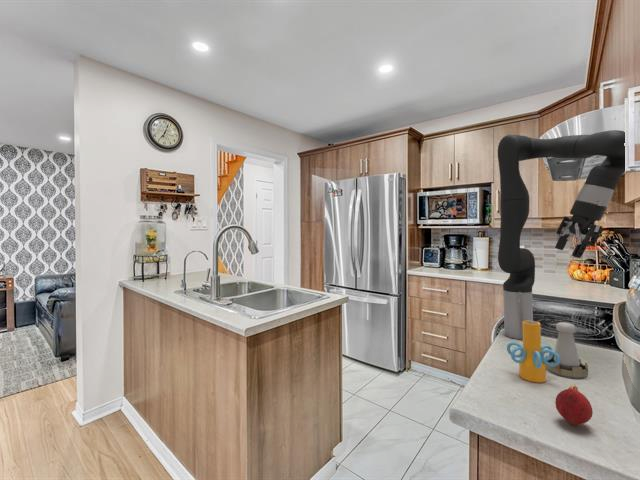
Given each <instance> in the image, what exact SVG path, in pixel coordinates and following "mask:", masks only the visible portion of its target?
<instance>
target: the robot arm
mask: <svg viewBox="0 0 640 480" xmlns="http://www.w3.org/2000/svg"><path fill="white" fill-rule="evenodd" d="M625 132H626V131H625ZM625 132H624V130H618V129H617V130H616V129H614V130H604V131H599V132H595V133H591V134H577V135H576V134H573V135H572V134H571V135H565V136H564V135H562V136H559V137H555V138H554V137H553V138H537V137H536V138H535V137H530V136H526V135H520V134H519V135H518V134H507V135H504V136H503V137H502V138H501V139H500V141H499V143H498V145H497V159H498V160H497V161H498V169H499V181H500V182H499V183H500V184H499V185H500V189H499V191H500V200H499V201H500V204H499V205H500V207H499V209H500V224H499V225H500V229H499V230H500V237H499V244H498V253H497V262H498V266H499V268H500V270H501V271H503V272H504V273H506V274H509V276H508V277H507V280H505V281H504V282H503V285H502V286H503V289H502V290H503V327H504V328H503V330H504V331H503V332H504V335H505V336H506V337H507V338H511V339H515V340H516V339H517V340H523V325H522V321H526V320H528V321H534V317H533V315H534V311H533V310H534V309H533V308H534V305H533V286H534V284H535V281H536V280H535V279H536V261H535V256H534V254H533V252H532V251H530V250H529V249H528V248H524V247H521V234H522V230H523V229H524V226H525V224H526V222H527V220H528V218H529V215H530V194H529V191H528V188H527V186H526V184H525V182H524V180H523V178H522V176H521V173H520V163H519V162H522V161H527V160H534V159H542V158H554V159H588V158H589V159H590V158H592V157H594V156H595V157H597V156H598V157H599V156H600V157H601V156H602V157H606V158H605V159H604V160H603V162H602V163H601V164H600V165H596V166H593V167H592V168H591V169H590V171H589V173H588V175H587V177H586V179H585V181H584V184H583V185H582V187H581V188H580V191H579V192H578V194H577V196H576V198H575V200H574V203H573V205H572V207H571V209H570V211H569V214H570V215H572V217H569V216H564V217H563V218H562V220H561V222H560V224H559V226H558V227H557V230H556V231H555V232H556V234H557V235H558V237H559V238H558V240H557V243H556V244H555V247H554V248H555V249H557V250H560V251H563V250H564V249H565V247H566V245H567V242H568V239H570V238H571V237H572V236H574V235H575V237H576V238H577V244H576V245H575V247H574V249H573V251H572V254H571V256H572V257H574V258H578V259H580V258H582V256H583V254H584V253H585V251H586V249H587V248H588V247H595V245H596V243H597V241H598V239H599V237H600V234H601V232H602V230H603V226H602V225H599V224H596V221H597V222H600V221H601V220H602V218H603V217H604V214H605V212H606V211H607V208H608V206H609V204H610V202H611V200H612V198H613V196H614V191H615V190H616V188H617V186H618V184H619V182H620V179H621V177H622V176H623V174H624V173H626V171H625V146H624V143H625ZM590 239H591V240H590Z"/></svg>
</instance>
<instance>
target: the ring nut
mask: <svg viewBox="0 0 640 480" xmlns="http://www.w3.org/2000/svg"><path fill="white" fill-rule="evenodd" d="M548 356H549V355H545V357H544V358H546V357H548ZM579 361H580V366H579V367H571V370H566V369H561V365H560V364H559V365H557V366H554V367H552V366H548V365H546V371H548V372H549V373H551V374H553V375H556V376H559V377H562V378H566V379H573V380H574V379H575V380H583V379H587V378H589V365H588V364H589V363H588V362H584V364H583V363H582V360H581V358H579ZM547 362H549V363H555V362H554V355H553V357H552V358H551V359H550V360H548V361H547Z"/></svg>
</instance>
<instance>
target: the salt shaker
mask: <svg viewBox="0 0 640 480" xmlns="http://www.w3.org/2000/svg"><path fill="white" fill-rule="evenodd" d="M555 324H556V327H555V328H556V331H557V332H558V334H557V340H556V345H555V350H554V352H556V353H557V354H558V355H559V357H560V363H559V364H560V365H561V369H566V370H571V367H579V366H580V361H579V359H580V358H579V357H580V356H579V354H578V350H577V345H576V341H575V336H574V334H575V333H576V330H577V328H576V325H574V324H573V323H570V322H565V321H564V322H563V321H560V322H557V323H555ZM554 362H556V357H555V355H554Z"/></svg>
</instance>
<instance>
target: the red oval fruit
mask: <svg viewBox="0 0 640 480" xmlns="http://www.w3.org/2000/svg"><path fill="white" fill-rule="evenodd" d="M554 402H555V408H556V410H557V412H558V414H559V415H560V417H562V418H563V419H564V420H565V421H566V422H567V423H569V424H571V425H572V426H575V427H576V426H579V425H582V424H585V423H587V422H589V421H590V420H591V419H592V417H593V408H592V405H591V402H590V400H589V399H588V398H587V396H586V395H585V394H583V393H582V392H581V391H579V388H578V386H576V385H575V384H570V386H569V387H568V388H565V389H564V390H561V391H560V392H558V394H557V395H556V398H555V401H554Z"/></svg>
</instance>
